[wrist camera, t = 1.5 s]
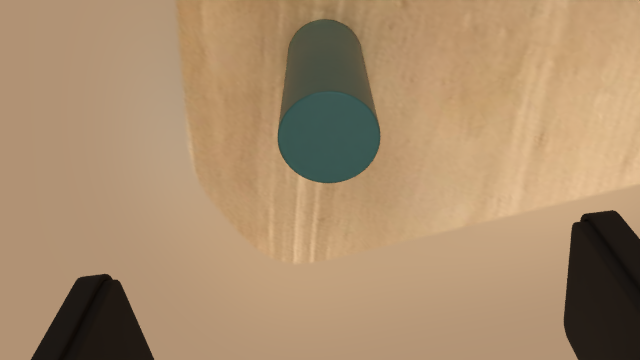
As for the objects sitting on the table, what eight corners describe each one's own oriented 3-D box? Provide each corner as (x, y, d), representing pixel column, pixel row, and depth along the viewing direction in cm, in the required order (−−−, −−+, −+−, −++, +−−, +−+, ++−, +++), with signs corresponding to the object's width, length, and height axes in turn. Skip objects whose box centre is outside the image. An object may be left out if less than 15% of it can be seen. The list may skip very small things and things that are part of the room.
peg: (295, 95, 25) (288, 190, 18) (281, 25, 23) (267, 100, 17) (365, 85, 25) (385, 176, 18) (356, 13, 23) (375, 84, 16)
